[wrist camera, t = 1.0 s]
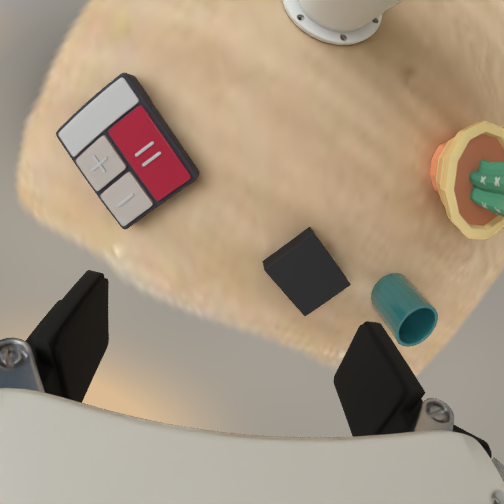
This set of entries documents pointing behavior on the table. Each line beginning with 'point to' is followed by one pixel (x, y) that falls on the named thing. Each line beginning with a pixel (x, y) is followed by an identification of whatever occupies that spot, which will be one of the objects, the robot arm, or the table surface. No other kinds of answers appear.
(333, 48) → the table surface
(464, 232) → the potted cactus
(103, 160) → the calculator
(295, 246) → the black box
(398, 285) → the cup
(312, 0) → the robot arm
